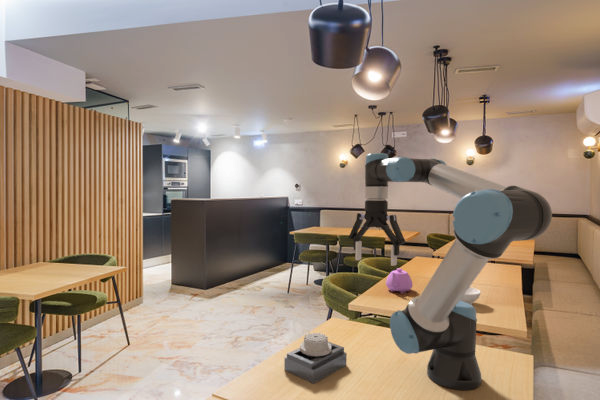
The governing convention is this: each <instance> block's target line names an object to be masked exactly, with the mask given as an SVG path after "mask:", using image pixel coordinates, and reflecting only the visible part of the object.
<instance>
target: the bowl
mask: <svg viewBox="0 0 600 400" xmlns="http://www.w3.org/2000/svg"><path fill="white" fill-rule="evenodd" d="M481 294H482V293H481V290H479V289H478V288H476V287H473V286H472V287H471V286H470V287H469V288H468V289H467V291H466V292H465V294H464V295H463V296H462V298H461V299H460V300H459V301H463V302H466V303H468V304H471V305H472V304H473V303H475V301H478V299H479V298H480V296H481Z"/></svg>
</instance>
